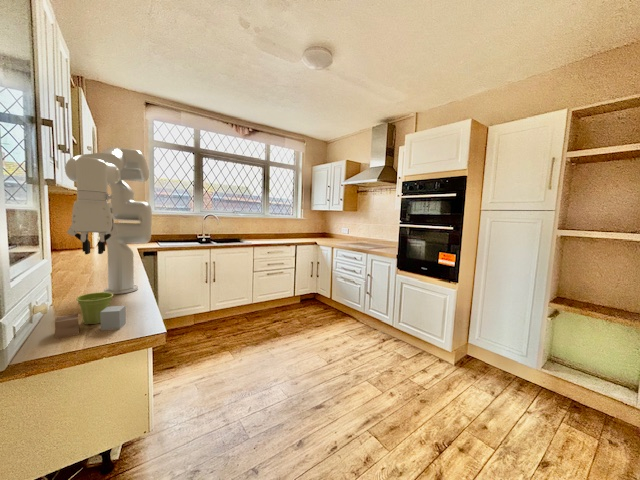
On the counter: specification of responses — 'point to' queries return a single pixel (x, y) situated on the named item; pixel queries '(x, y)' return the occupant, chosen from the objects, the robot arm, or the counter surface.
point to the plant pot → (93, 306)
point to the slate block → (113, 317)
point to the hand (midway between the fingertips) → (94, 253)
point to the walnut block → (66, 326)
